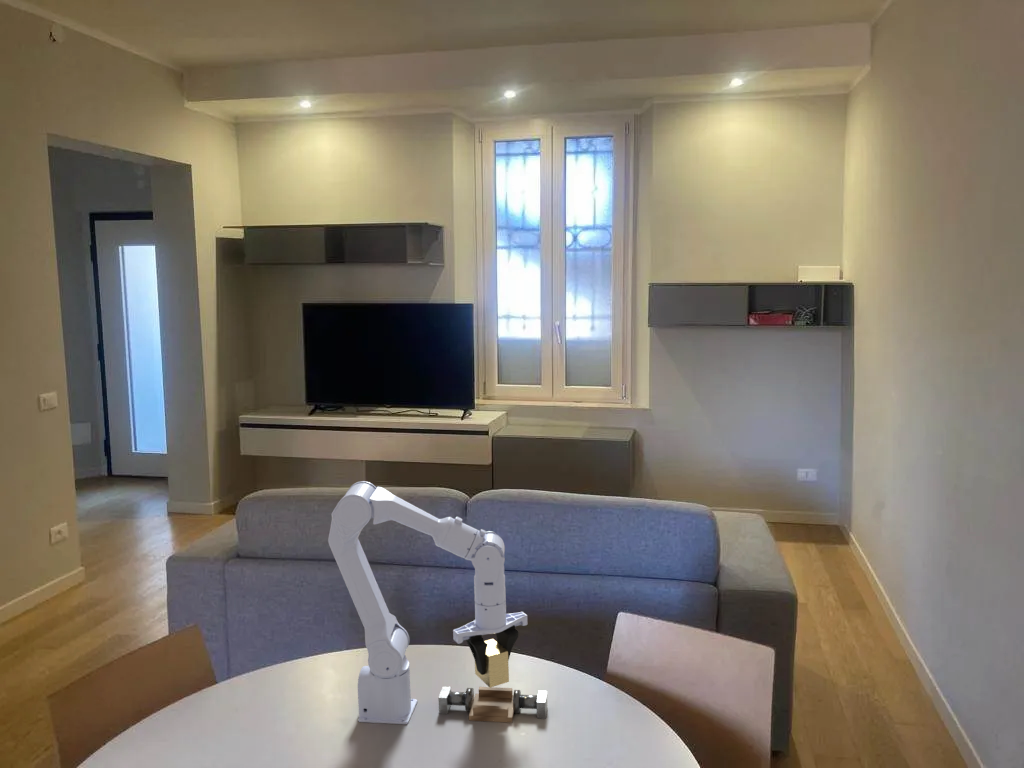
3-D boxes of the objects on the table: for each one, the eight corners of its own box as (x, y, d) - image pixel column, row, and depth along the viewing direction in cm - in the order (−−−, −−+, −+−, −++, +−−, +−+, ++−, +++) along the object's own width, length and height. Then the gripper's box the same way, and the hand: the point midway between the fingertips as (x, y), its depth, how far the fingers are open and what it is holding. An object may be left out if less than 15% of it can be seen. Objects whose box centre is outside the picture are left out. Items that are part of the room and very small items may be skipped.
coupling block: (508, 681, 148) (507, 651, 147) (489, 687, 146) (488, 656, 146) (493, 668, 154) (492, 638, 153) (475, 673, 152) (474, 643, 151)
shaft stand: (437, 719, 148) (436, 698, 148) (445, 697, 156) (444, 677, 155) (544, 724, 146) (544, 703, 145) (548, 701, 153) (547, 682, 153)
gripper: (513, 584, 154) (515, 650, 156) (445, 600, 147) (447, 669, 149) (532, 596, 148) (534, 665, 150) (461, 615, 141) (464, 686, 143)
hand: (492, 668), depth 149 cm, fingers closed on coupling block, 4 cm apart
